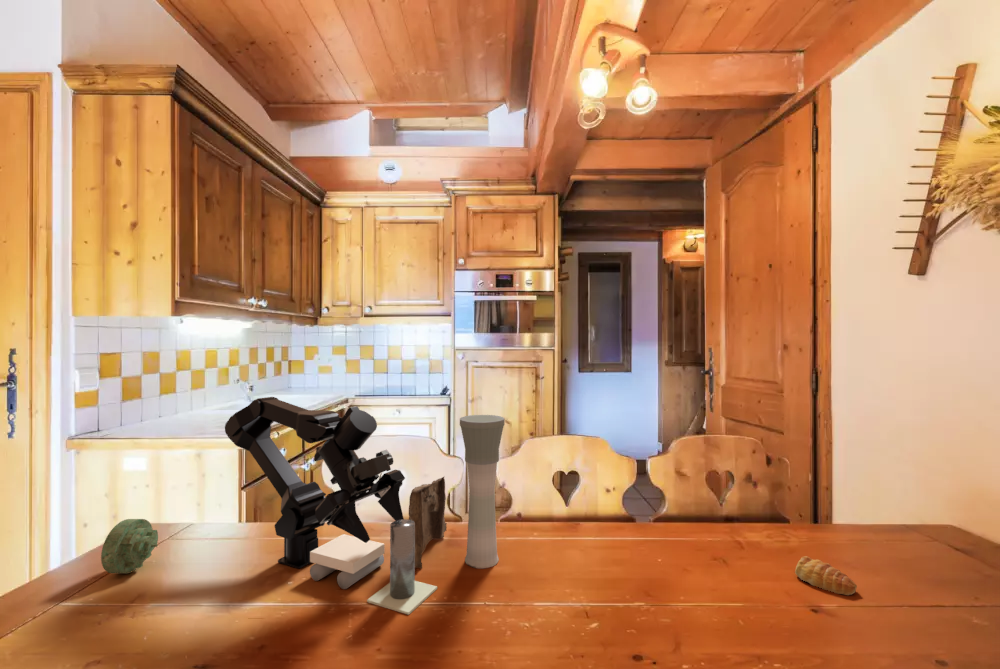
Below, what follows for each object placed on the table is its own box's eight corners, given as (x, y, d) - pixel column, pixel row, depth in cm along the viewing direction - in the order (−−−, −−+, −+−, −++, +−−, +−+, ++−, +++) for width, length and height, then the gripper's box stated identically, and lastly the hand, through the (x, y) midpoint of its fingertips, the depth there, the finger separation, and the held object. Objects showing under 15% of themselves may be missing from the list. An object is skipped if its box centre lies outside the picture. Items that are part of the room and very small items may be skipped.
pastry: (863, 591, 86) (862, 570, 86) (846, 602, 83) (846, 581, 83) (808, 569, 94) (808, 551, 94) (791, 579, 91) (791, 559, 91)
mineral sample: (421, 569, 94) (421, 494, 94) (402, 567, 95) (402, 493, 95) (448, 535, 110) (448, 471, 110) (432, 533, 111) (432, 470, 111)
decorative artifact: (140, 558, 98) (141, 511, 98) (173, 558, 98) (174, 511, 98) (100, 583, 88) (101, 531, 88) (137, 583, 88) (138, 531, 88)
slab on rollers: (307, 578, 90) (308, 552, 90) (344, 556, 99) (344, 533, 99) (351, 591, 86) (351, 564, 86) (385, 567, 95) (386, 542, 95)
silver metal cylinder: (386, 598, 83) (386, 528, 83) (395, 585, 87) (395, 518, 87) (409, 600, 82) (410, 529, 82) (417, 587, 86) (418, 520, 86)
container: (496, 547, 104) (496, 413, 104) (510, 567, 95) (510, 421, 95) (454, 553, 101) (455, 416, 101) (465, 574, 92) (465, 423, 92)
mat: (367, 602, 82) (367, 599, 82) (398, 578, 90) (398, 576, 90) (408, 614, 78) (408, 612, 78) (437, 588, 86) (437, 586, 86)
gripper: (326, 449, 81) (372, 525, 75) (398, 430, 97) (440, 492, 92) (296, 486, 85) (338, 561, 79) (370, 462, 101) (409, 523, 96)
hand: (385, 531), depth 86 cm, fingers open, 9 cm apart
